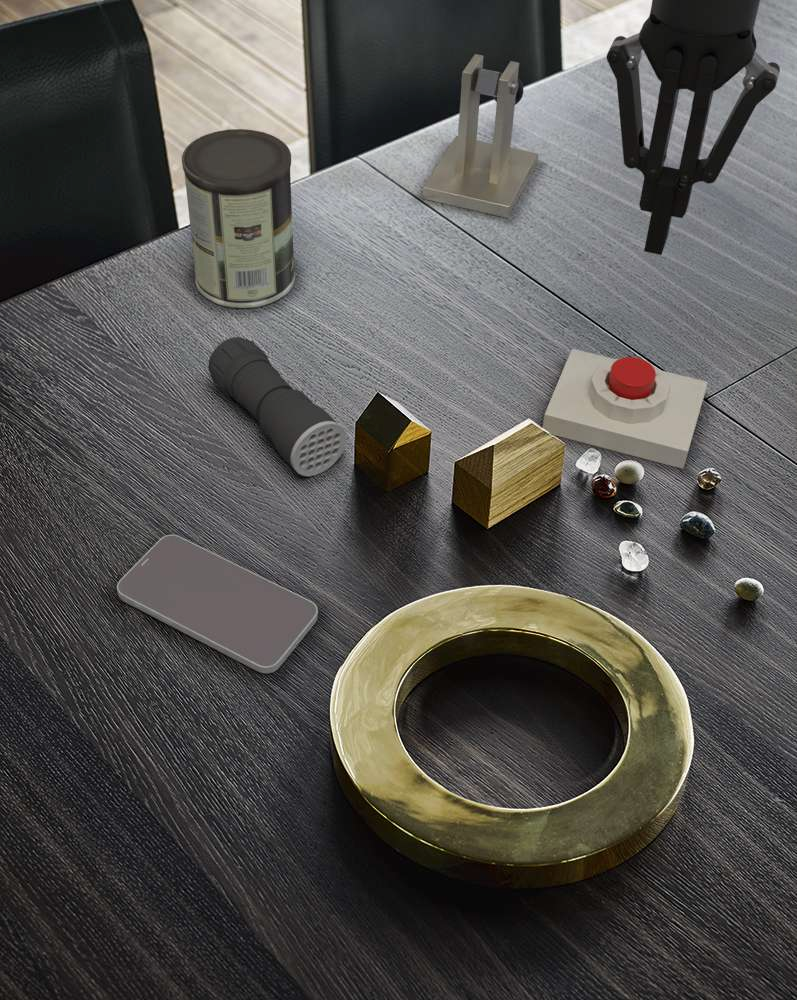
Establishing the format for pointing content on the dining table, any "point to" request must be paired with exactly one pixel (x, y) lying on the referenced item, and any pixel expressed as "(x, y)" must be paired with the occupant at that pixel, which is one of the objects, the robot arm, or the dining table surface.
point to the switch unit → (483, 153)
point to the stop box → (625, 411)
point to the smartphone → (218, 603)
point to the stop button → (631, 378)
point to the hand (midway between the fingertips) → (655, 244)
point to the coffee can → (240, 217)
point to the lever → (494, 84)
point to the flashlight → (277, 407)
